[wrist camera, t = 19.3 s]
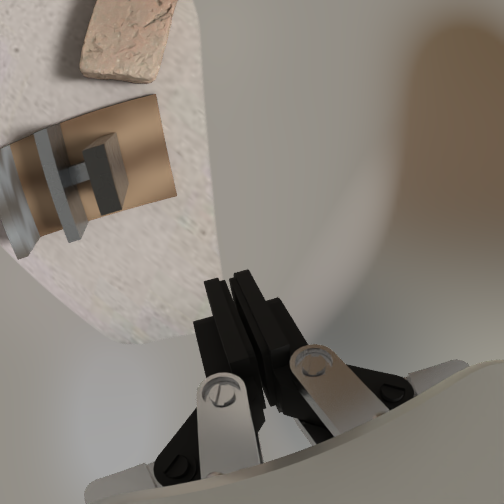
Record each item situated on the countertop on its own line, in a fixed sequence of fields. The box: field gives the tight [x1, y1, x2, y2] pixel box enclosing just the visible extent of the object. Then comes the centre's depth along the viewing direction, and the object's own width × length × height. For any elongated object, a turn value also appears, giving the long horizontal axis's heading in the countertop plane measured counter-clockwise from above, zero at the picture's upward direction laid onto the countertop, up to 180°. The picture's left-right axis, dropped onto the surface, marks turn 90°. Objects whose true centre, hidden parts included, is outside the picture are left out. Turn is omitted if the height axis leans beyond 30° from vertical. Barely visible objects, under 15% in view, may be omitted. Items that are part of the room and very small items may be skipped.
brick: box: [79, 0, 178, 84], centre depth 23 cm, size 17×8×5 cm, turn 167°
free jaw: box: [33, 124, 129, 243], centre depth 27 cm, size 12×8×8 cm, turn 8°
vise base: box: [0, 94, 177, 260], centre depth 29 cm, size 12×20×6 cm, turn 98°
